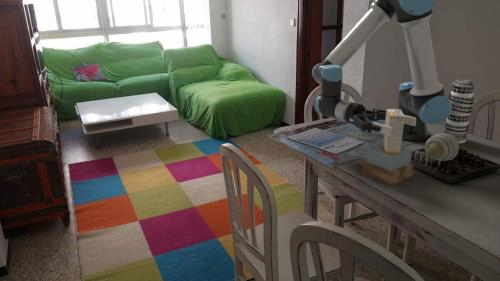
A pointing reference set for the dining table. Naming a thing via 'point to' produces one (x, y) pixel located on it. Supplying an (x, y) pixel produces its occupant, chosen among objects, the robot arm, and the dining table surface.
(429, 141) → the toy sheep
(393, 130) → the supplement box
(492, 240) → the dining table surface
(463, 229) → the dining table surface
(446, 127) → the decorative candle
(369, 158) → the tower top block
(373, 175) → the tower base block
